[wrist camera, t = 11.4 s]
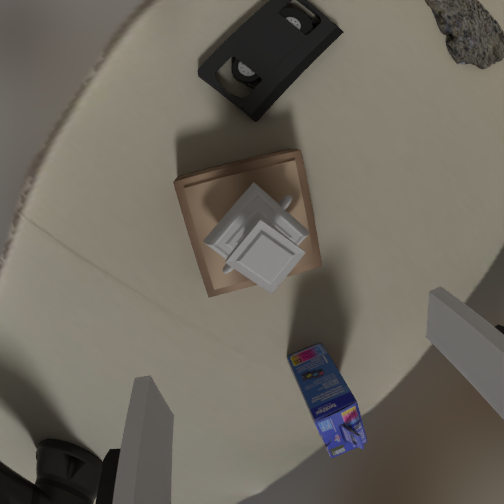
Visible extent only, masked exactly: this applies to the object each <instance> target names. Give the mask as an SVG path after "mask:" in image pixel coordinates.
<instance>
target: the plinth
mask: <svg viewBox="0 0 504 504" xmlns="http://www.w3.org/2000/svg"><path fill="white" fill-rule="evenodd" d="M253 182H254V183H255V184H257V185H258V186H259V187H260V188H261V189H262V190H264V191H265V192H266V193H267V194H268V195H269V196H270V197H271V198H273V199H274V200H275V201H276V202H277V203H279V202H280V201H281V200H282V199H283V198H284V197H285V196H286V195H290V196H292V201H291V203H290V204H289V206H288V207H287V208H286V211H287V212H288V213H290V214H291V215H292V216H293V217H294V218H295V219H296V220H297V221H298V222H300V223H301V224H302V225H303V226H304V227H305V228H306V229H307V230H308V231H309V234H308V236H307V237H306V238H305V239H304V240H303V241H302V242H301V243H300V244H299V245H298V246H299V247H300V248H301V249H302V250H303V251H305V252H306V253H305V254H304V255H303V257H302V258H301V259H300V260H299V262H298V263H297V264H296V265H295V267H294V268H293V269H292V270H291V271H290V273H289V274H288V275H287V276H290V275H294V274H297V273H301V272H304V271H308V270H311V269H315V268H318V267H322V263H321V256H320V250H319V244H318V238H317V232H316V226H315V220H314V215H313V209H312V204H311V198H310V193H309V188H308V182H307V177H306V172H305V167H304V162H303V158H302V153H301V150H296V149H287V150H282V151H278V152H273V153H269V154H264V155H260V156H256V157H252V158H247V159H243V160H239V161H235V162H231V163H227V164H223V165H219V166H216V167H212V168H208V169H204V170H201V171H197V172H194V173H190V174H186V175H183V176H179V177H177V178H176V179H175V181H174V182H173V183H174V186H175V190H176V193H177V197H178V200H179V204H180V207H181V211H182V214H183V217H184V221H185V224H186V227H187V231H188V234H189V237H190V240H191V244H192V247H193V250H194V253H195V257H196V260H197V263H198V266H199V269H200V272H201V275H202V278H203V282H204V285H205V288H206V291H207V294H208V297H213V296H216V295H220V294H224V293H228V292H232V291H235V290H239V289H243V288H247V287H250V286H254V285H258V284H256V283H255V282H253V281H252V280H250V279H249V278H247V277H246V276H244V275H243V274H241V273H240V272H238V271H237V270H235V269H233V270H232V271H231V272H229V273H227V274H224V273H223V267H224V266H225V264H226V263H225V262H226V259H225V258H223V257H222V256H221V255H219V254H218V253H217V252H215V251H214V250H213V249H212V248H210V247H209V246H208V245H206V244H205V243H204V241H203V240H204V239H205V238H206V237H207V236H208V234H209V233H210V232H211V231H212V230H213V228H214V227H215V226H216V225H217V224H218V223H219V221H220V220H221V219H222V218H223V217H224V216H225V214H226V213H227V212H228V211H229V210H230V209H231V207H232V206H233V205H234V204H235V203H236V202H237V201H238V199H239V198H240V197H241V196H242V195H243V194H244V193H245V191H246V190H247V189H248V188H249V187H250V186H251V185H252V183H253ZM287 276H286V277H287Z"/></svg>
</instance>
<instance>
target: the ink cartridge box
mask: <svg viewBox="0 0 504 504" xmlns="http://www.w3.org/2000/svg"><path fill="white" fill-rule="evenodd" d="M287 360H288V363H289V365H290V368H291V370H292V373H293V375H294V377H295V379H296V381H297V384H298V386H299V388H300V391H301V393H302V395H303V398H304V400H305V402H306V405H307V407H308V409H309V412H310V414H311V417H312V419H313V422H314V424H315V426H316V428H317V430H318V432H319V435H320V436H321V438H322V440H323V442H324V445H325V447H326V449H327V451H328V453H329V455H330V457H331V458H333V457H335V456H338V455H340V454H342V453H345V452H347V451H349V450H352V449H354V448H357V447H359V448H361V449H364V445H363V444H364V443H366V442H367V438H366V434H365V430H364V427H363V423H362V419H361V415H360V411H359V408H358V404H357V401H356V399H355V398H354V396H353V394H352V393H351V391H350V389H349V387H348V386H347V384H346V382H345V381H344V379H343V377H342V376H341V374H340V372H339V371H338V369H337V367H336V366H335V364H334V363H333V361H332V359H331V358H330V356H329V354H328V353H327V351H326V350H325V348H324V346H323V344H322V343H319V344H316V345H314V346H312V347H309V348H307V349H304V350H302V351H300V352H297V353H295V354H292V355H290V356H288V357H287Z"/></svg>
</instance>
